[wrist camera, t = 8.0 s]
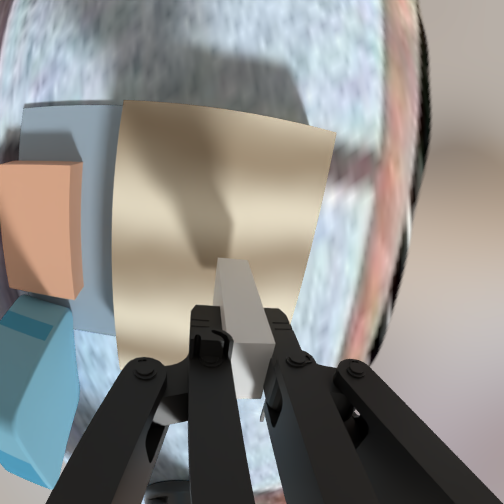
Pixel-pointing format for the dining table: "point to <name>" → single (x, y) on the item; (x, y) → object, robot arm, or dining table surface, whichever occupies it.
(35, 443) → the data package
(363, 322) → the dining table surface
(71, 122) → the mat
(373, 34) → the dining table surface
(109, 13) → the dining table surface
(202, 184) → the plate
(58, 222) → the salmon orange flat block
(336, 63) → the dining table surface
